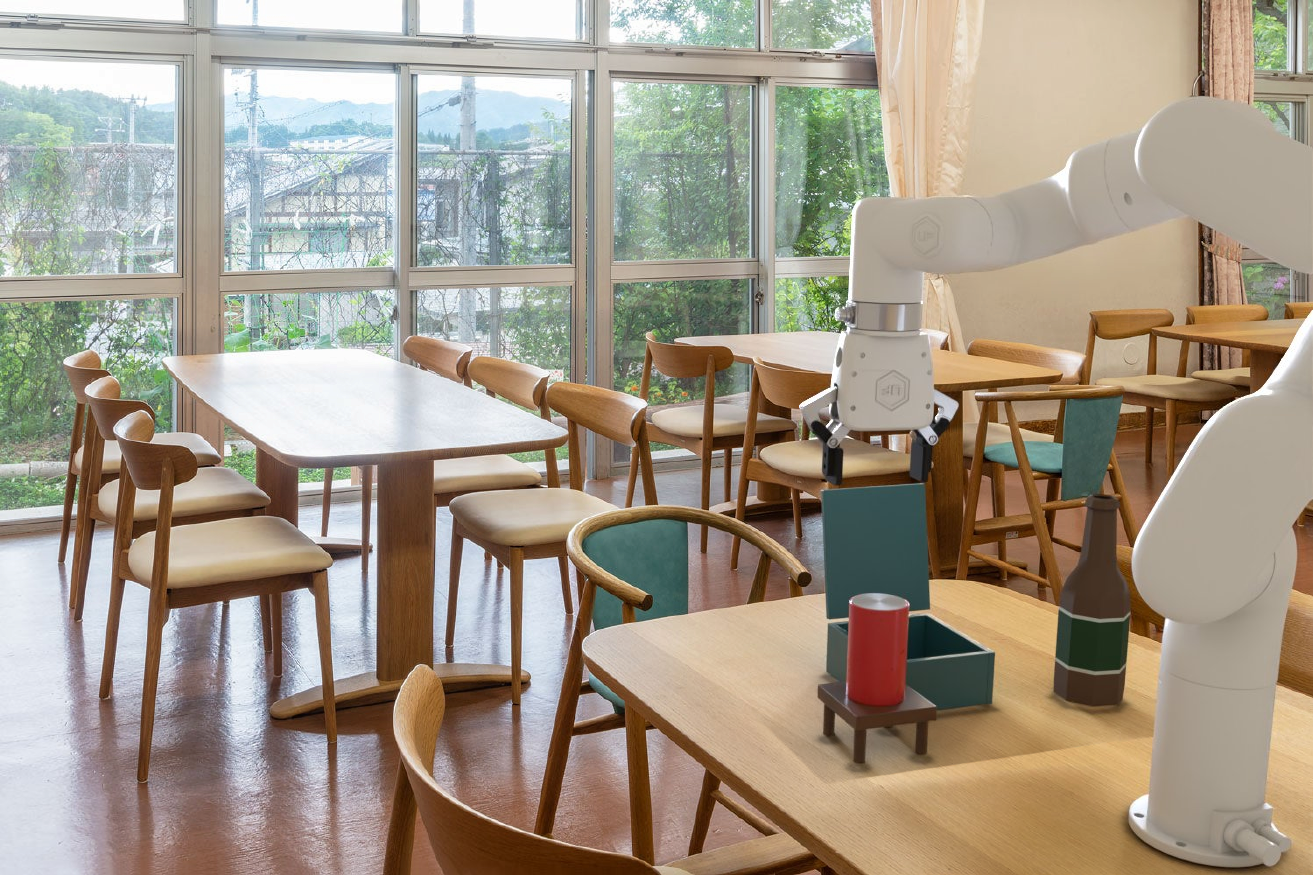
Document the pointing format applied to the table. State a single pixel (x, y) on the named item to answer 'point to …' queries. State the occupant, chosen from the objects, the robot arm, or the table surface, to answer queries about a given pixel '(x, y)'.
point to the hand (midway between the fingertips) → (876, 481)
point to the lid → (875, 545)
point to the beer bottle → (1094, 615)
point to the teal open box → (931, 662)
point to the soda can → (877, 649)
